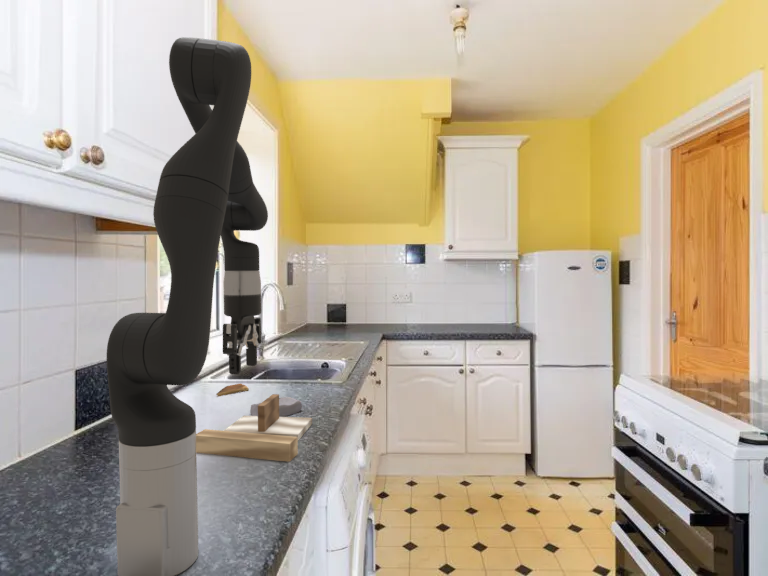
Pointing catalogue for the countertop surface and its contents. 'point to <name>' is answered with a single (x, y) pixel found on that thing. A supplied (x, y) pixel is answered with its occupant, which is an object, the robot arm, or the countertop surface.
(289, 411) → the stone block
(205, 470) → the countertop surface
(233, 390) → the shard
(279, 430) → the stand
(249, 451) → the oak batten
